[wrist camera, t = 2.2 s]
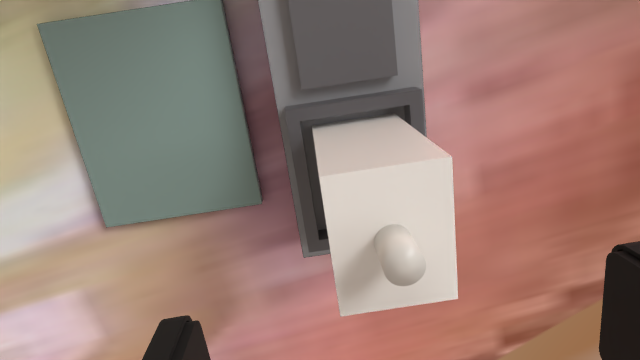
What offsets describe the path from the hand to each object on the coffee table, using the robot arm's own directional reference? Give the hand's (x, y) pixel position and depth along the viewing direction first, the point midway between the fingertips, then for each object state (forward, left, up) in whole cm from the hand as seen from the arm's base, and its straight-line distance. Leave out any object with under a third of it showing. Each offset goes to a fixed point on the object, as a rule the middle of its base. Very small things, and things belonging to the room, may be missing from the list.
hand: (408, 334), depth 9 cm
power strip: (-1, -4, -15) cm, 15 cm away
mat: (+9, -4, -15) cm, 18 cm away
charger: (-1, 0, -12) cm, 12 cm away
